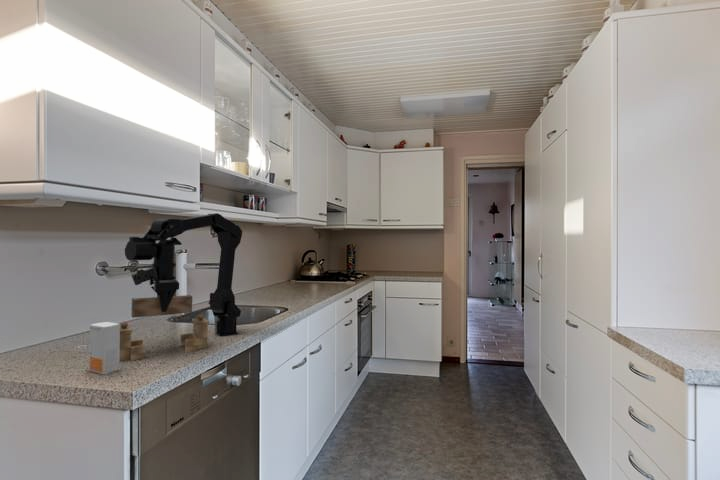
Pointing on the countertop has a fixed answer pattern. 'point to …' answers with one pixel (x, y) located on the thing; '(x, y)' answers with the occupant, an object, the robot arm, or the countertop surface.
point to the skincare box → (104, 347)
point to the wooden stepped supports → (189, 340)
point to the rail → (153, 307)
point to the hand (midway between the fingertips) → (162, 310)
